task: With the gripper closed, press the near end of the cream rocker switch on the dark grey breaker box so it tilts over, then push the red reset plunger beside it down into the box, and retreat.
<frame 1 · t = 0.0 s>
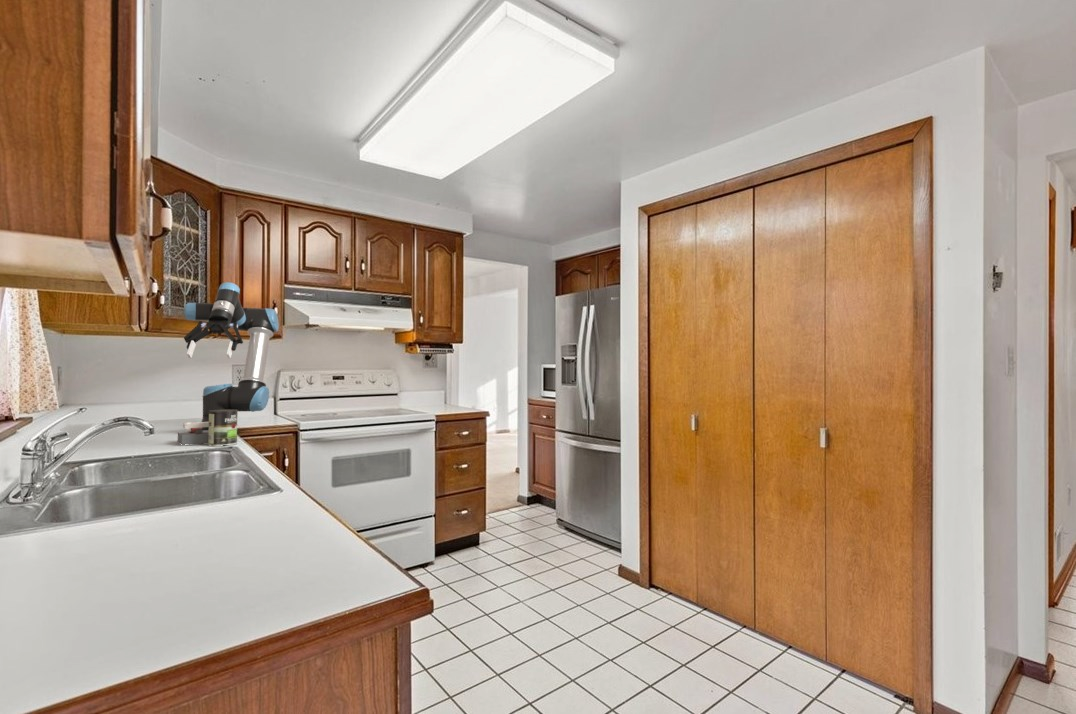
hand: (208, 356, 200), 36 cm above the counter, tool tilted 35°, fingers open, 13 cm apart
reset button: (196, 428, 221), point 6 cm above the counter, slide at 0.0 cm
coffee can: (222, 445, 214), on the counter
rocker: (198, 424, 217), point 8 cm above the counter, hinge at 0.0°
breaker box: (197, 442, 219), on the counter
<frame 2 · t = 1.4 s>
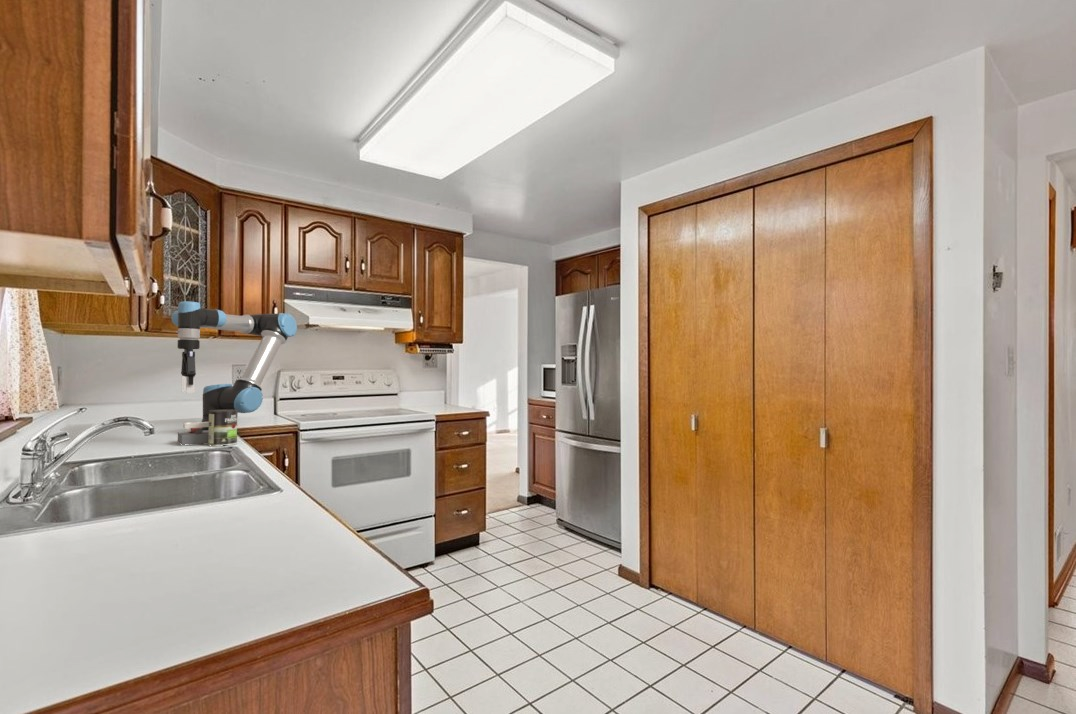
hand: (187, 392, 214), 21 cm above the counter, tool pointing down, fingers open, 12 cm apart
nothing on the counter moved.
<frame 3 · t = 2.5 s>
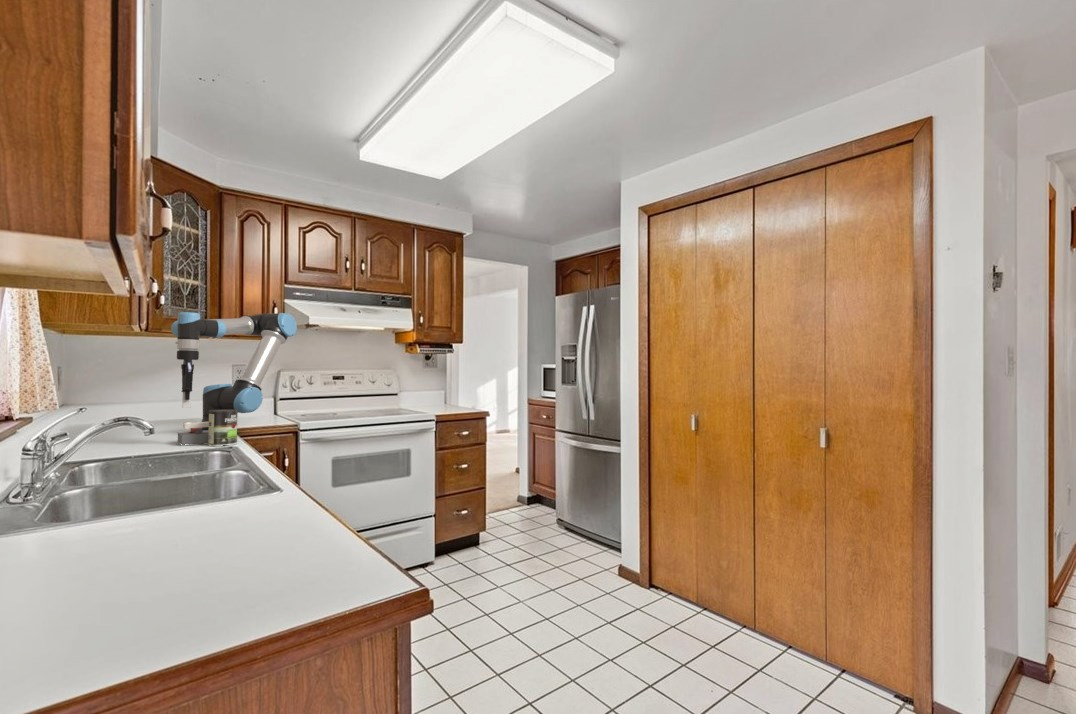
hand: (186, 407, 214), 15 cm above the counter, tool pointing down, fingers closed
nothing on the counter moved.
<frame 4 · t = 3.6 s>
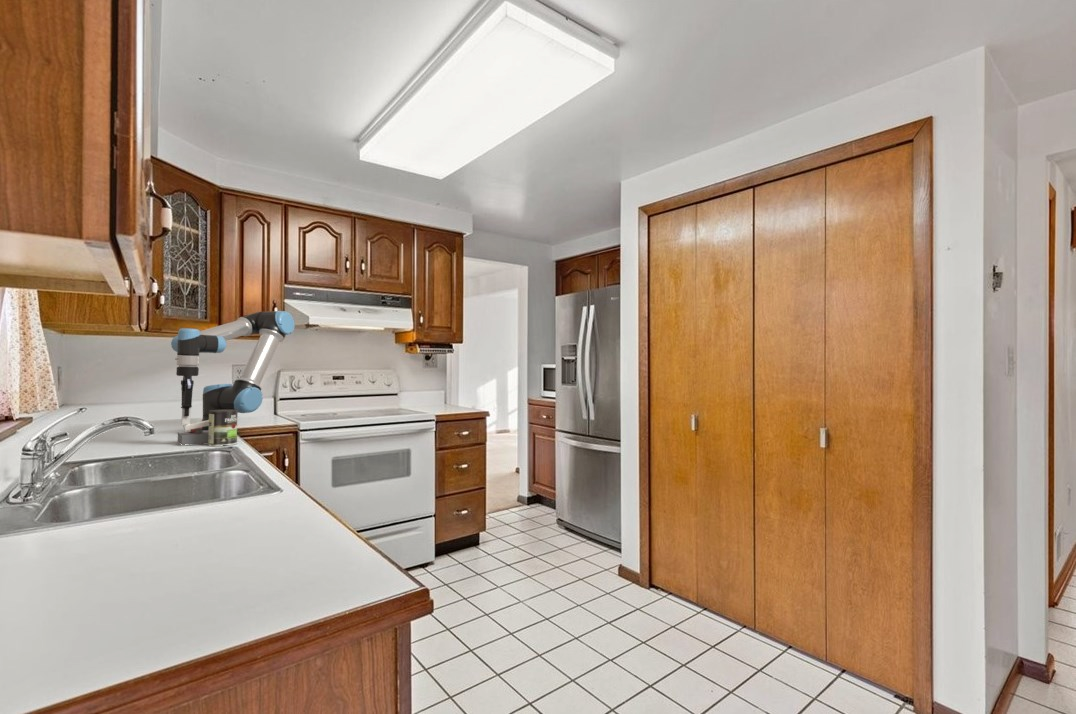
hand: (185, 423, 214), 8 cm above the counter, tool pointing down, fingers closed
rocker: (198, 424, 217), point 8 cm above the counter, hinge at 10.0°, touching gripper
everything else where it was.
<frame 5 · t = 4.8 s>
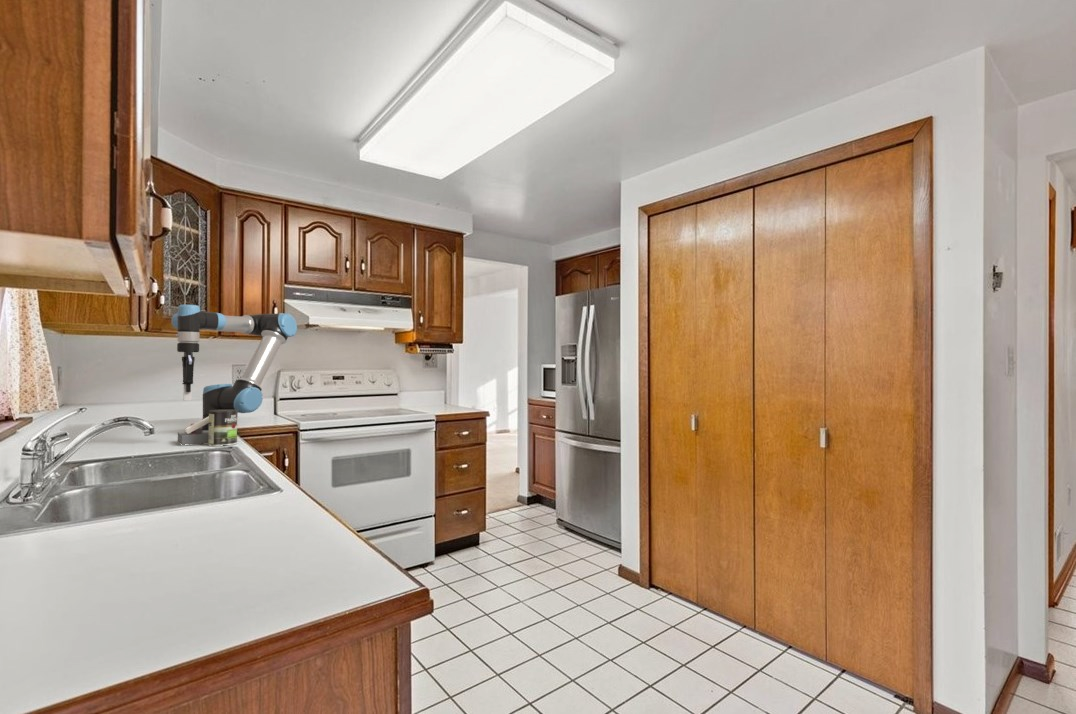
hand: (187, 400, 214), 18 cm above the counter, tool pointing down, fingers closed
rocker: (198, 424, 217), point 8 cm above the counter, hinge at 29.3°
everything else where it was.
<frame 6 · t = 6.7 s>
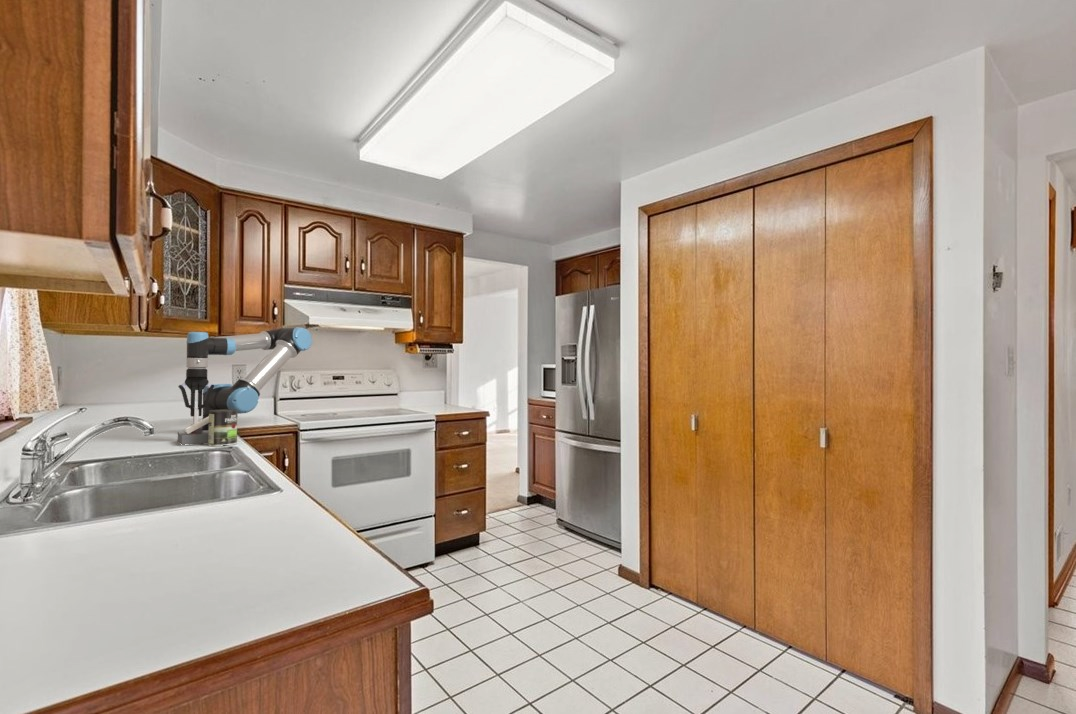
hand: (195, 424, 221), 7 cm above the counter, tool pointing down, fingers closed
reset button: (196, 429, 221), point 5 cm above the counter, slide at 0.4 cm, touching gripper
rocker: (198, 424, 217), point 8 cm above the counter, hinge at 29.6°, touching breaker box
everything else where it was.
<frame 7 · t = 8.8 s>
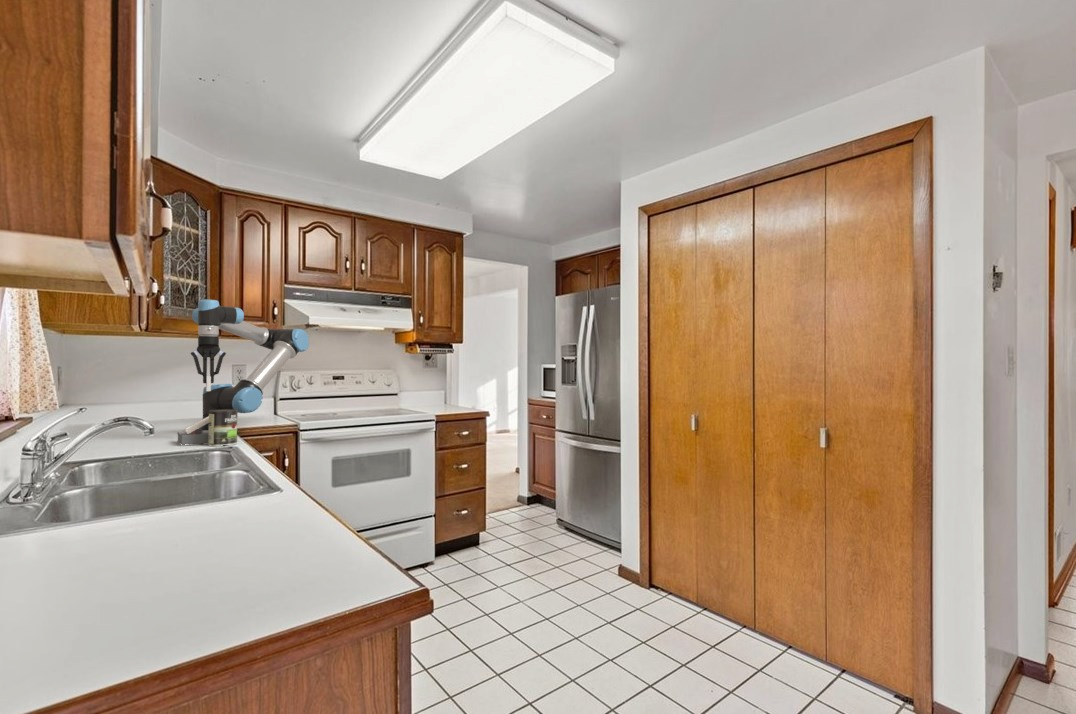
hand: (208, 391, 224), 21 cm above the counter, tool pointing down, fingers closed
reset button: (196, 433, 221), point 3 cm above the counter, slide at 2.3 cm
everything else where it was.
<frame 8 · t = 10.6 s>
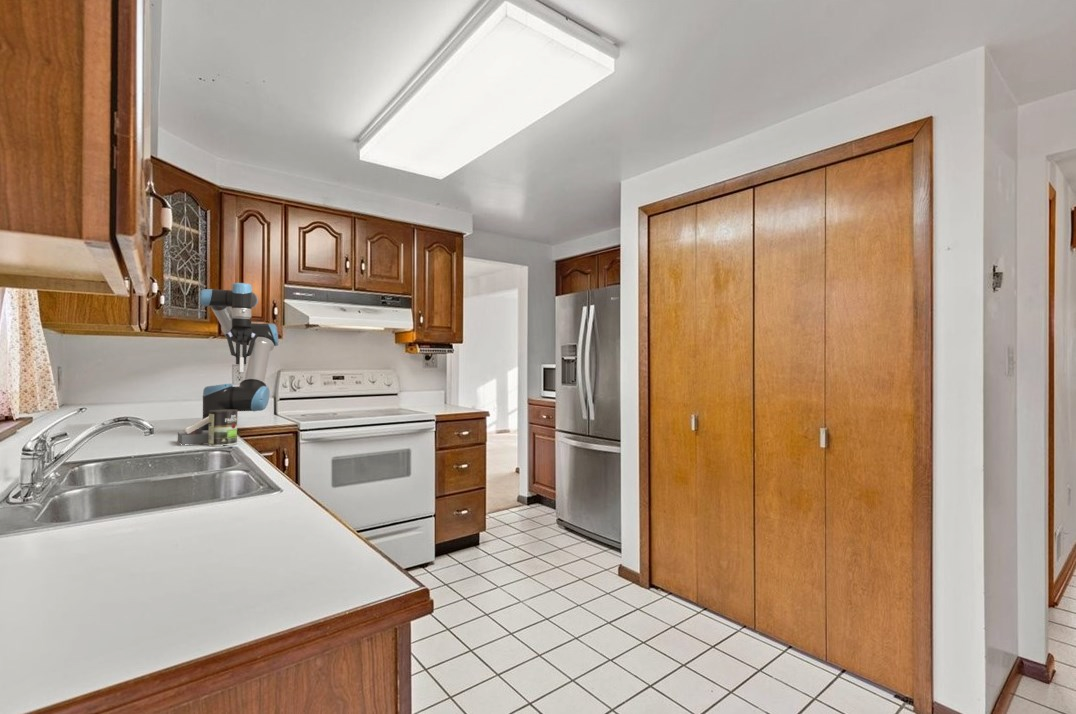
hand: (240, 371, 230), 29 cm above the counter, tool pointing down, fingers closed
nothing on the counter moved.
at the end: rocker tilted 30°; reset button slide at 2.3 cm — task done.
